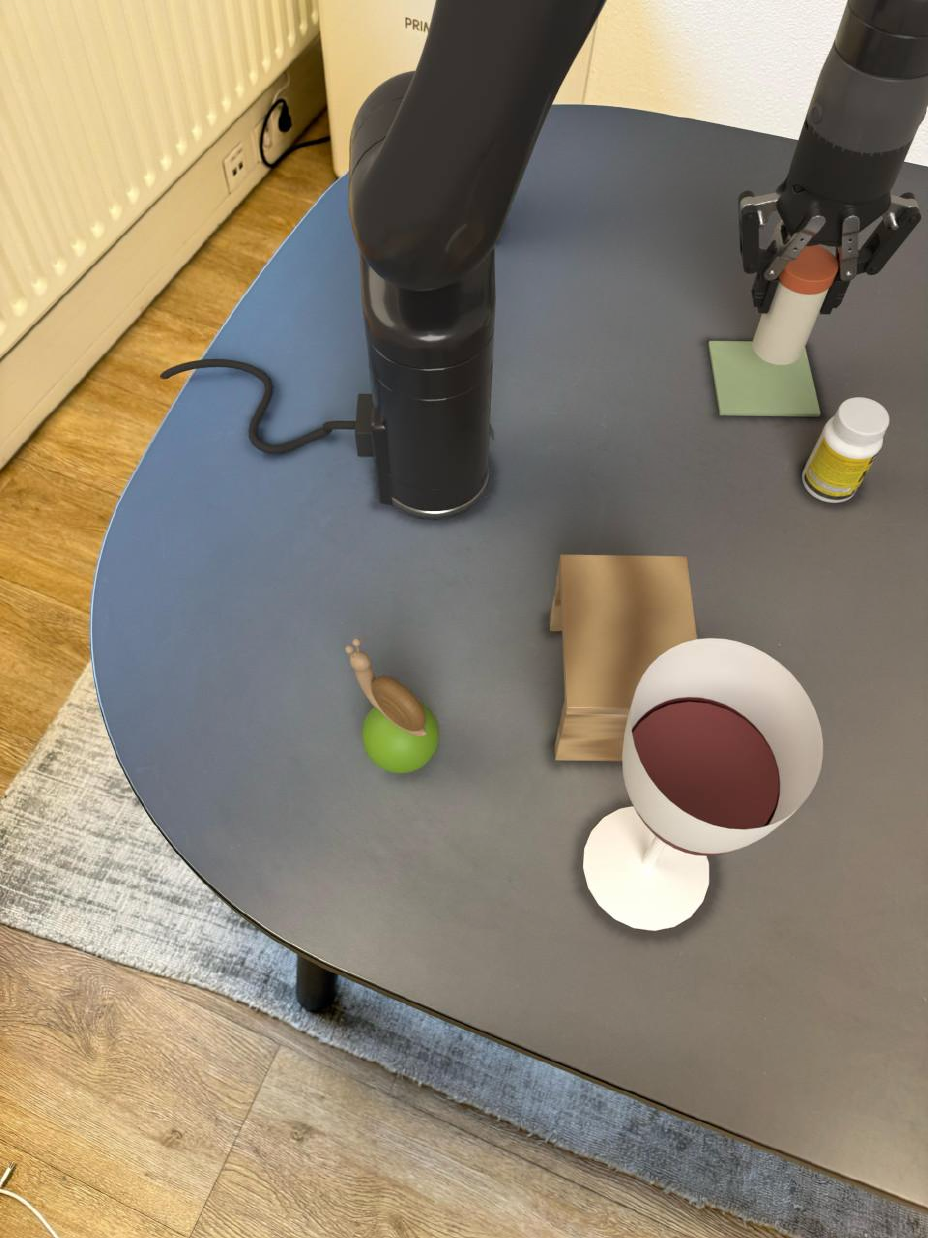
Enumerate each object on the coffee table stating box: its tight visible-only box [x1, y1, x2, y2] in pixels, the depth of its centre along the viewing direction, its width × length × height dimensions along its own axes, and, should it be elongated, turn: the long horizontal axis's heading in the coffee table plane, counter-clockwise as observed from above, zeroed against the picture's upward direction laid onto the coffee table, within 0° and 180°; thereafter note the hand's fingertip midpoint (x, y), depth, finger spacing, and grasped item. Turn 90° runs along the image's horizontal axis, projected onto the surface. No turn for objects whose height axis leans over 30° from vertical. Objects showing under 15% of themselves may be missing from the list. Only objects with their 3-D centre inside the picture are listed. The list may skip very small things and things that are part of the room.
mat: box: [707, 340, 821, 418], centre depth 89 cm, size 9×9×1 cm
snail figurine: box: [344, 637, 440, 774], centre depth 66 cm, size 5×6×12 cm
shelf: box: [549, 554, 698, 762], centre depth 69 cm, size 9×12×9 cm
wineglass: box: [582, 637, 824, 932], centre depth 57 cm, size 9×10×23 cm
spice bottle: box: [752, 244, 838, 365], centre depth 82 cm, size 5×5×9 cm
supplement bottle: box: [801, 396, 890, 504], centre depth 80 cm, size 5×5×8 cm
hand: (791, 306), depth 82 cm, fingers closed on spice bottle, 4 cm apart
